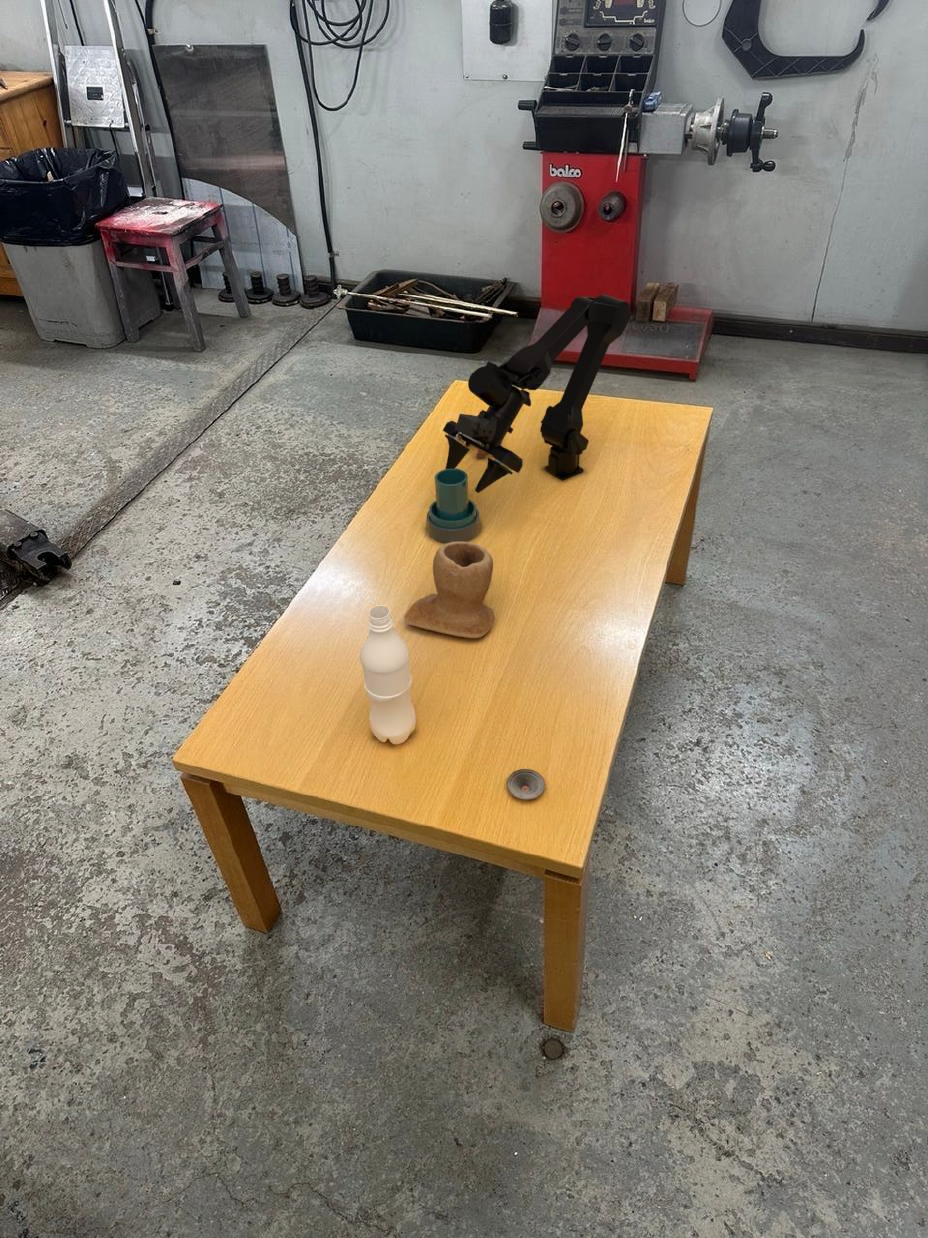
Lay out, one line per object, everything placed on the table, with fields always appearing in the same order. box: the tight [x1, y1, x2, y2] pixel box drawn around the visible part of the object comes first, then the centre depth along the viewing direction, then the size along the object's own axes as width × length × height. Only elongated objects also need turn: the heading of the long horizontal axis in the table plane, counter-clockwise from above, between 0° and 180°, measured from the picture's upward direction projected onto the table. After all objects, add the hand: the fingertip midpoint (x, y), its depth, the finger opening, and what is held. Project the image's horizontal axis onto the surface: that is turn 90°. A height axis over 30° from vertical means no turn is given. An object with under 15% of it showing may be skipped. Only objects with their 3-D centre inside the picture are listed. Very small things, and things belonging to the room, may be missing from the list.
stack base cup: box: [426, 507, 481, 544], centre depth 175 cm, size 11×11×3 cm
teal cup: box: [434, 468, 469, 521], centre depth 172 cm, size 6×6×10 cm
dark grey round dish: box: [506, 768, 546, 801], centre depth 125 cm, size 6×6×1 cm
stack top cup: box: [428, 498, 477, 529], centre depth 175 cm, size 10×10×5 cm
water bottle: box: [359, 604, 417, 745], centre depth 126 cm, size 7×7×25 cm
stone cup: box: [403, 541, 496, 639], centre depth 150 cm, size 15×12×15 cm
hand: (461, 483), depth 171 cm, fingers open, 9 cm apart
